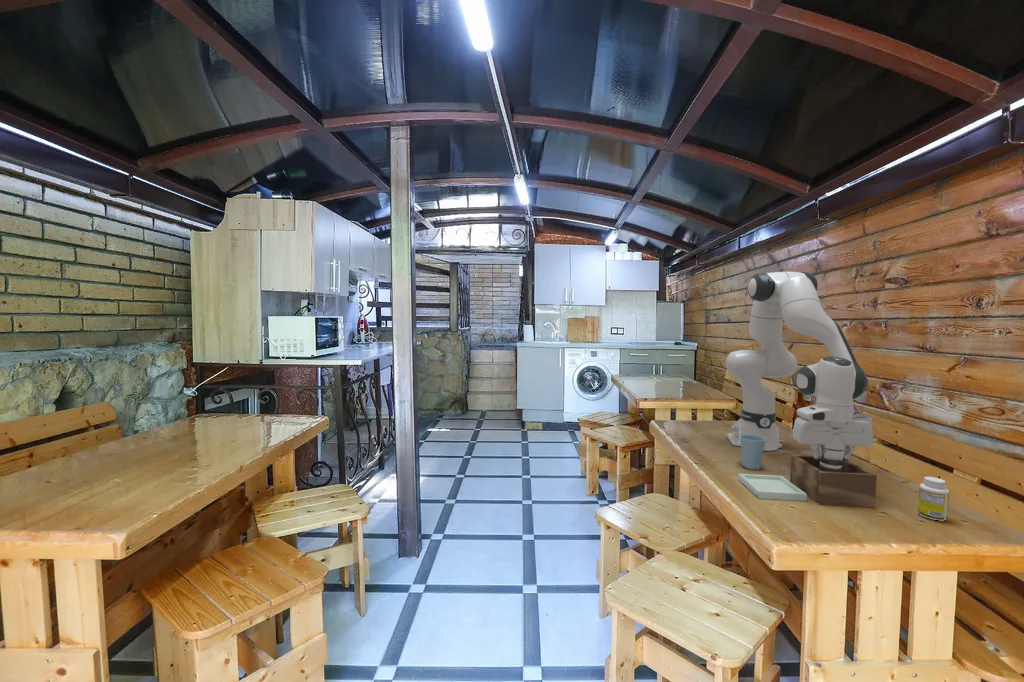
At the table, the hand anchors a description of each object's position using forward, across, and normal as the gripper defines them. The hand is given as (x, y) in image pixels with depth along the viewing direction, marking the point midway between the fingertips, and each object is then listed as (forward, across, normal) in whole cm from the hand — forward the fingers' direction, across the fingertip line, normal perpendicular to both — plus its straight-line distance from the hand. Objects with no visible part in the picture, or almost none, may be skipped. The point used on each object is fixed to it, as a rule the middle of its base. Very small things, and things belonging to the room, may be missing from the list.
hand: (830, 459), depth 125 cm
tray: (+10, +16, -1) cm, 19 cm away
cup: (+11, +13, -21) cm, 27 cm away
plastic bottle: (+10, 0, 0) cm, 10 cm away
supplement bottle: (+11, -18, +12) cm, 24 cm away
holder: (+10, 0, 0) cm, 11 cm away
